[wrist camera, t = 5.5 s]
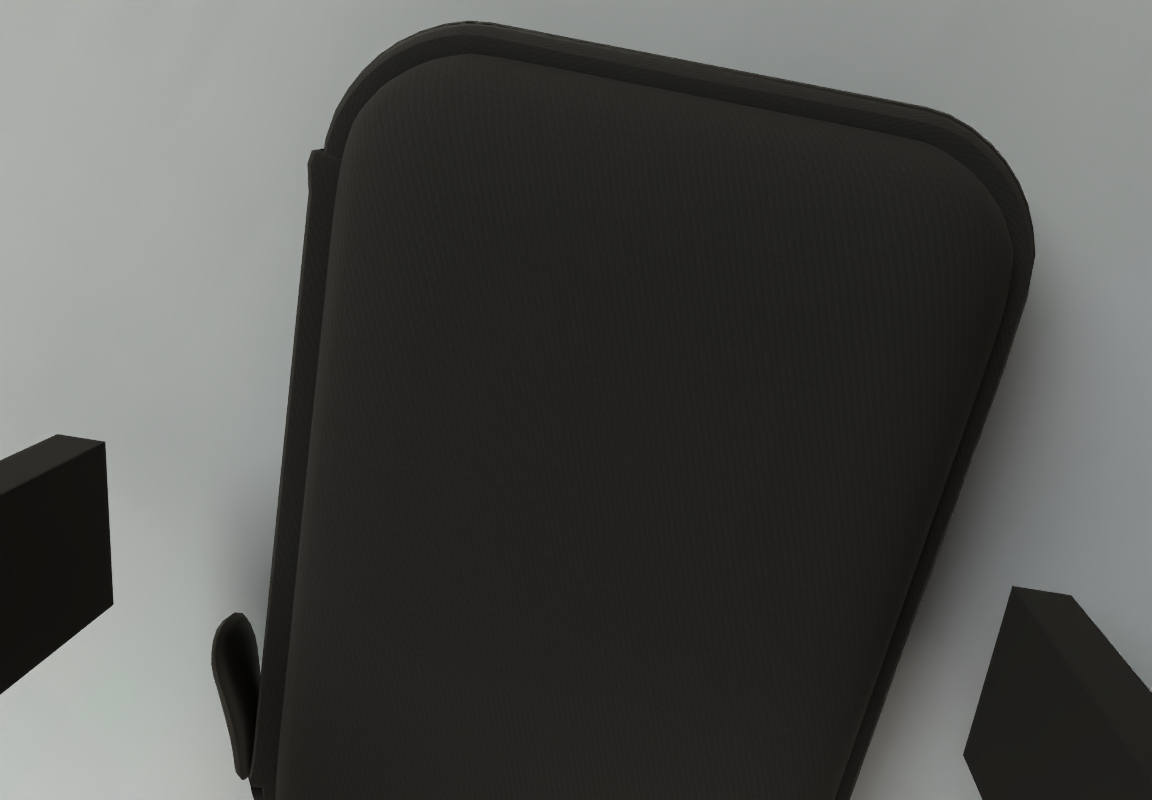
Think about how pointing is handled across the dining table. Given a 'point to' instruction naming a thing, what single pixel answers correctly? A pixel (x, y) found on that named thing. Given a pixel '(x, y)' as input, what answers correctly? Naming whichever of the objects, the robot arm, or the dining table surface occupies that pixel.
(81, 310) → the dining table surface
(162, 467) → the dining table surface
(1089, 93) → the dining table surface
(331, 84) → the dining table surface
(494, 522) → the carrying case
